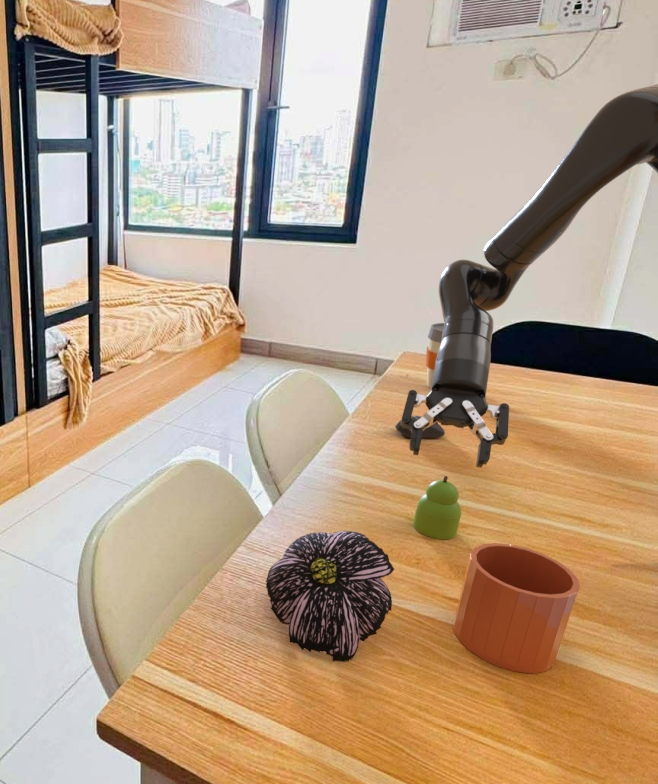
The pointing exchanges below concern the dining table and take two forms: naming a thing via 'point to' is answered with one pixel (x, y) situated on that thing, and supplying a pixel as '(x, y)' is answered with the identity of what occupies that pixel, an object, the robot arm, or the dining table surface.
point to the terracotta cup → (515, 607)
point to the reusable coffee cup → (433, 350)
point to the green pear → (438, 511)
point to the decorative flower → (331, 591)
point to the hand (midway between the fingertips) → (447, 459)
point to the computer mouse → (428, 433)
